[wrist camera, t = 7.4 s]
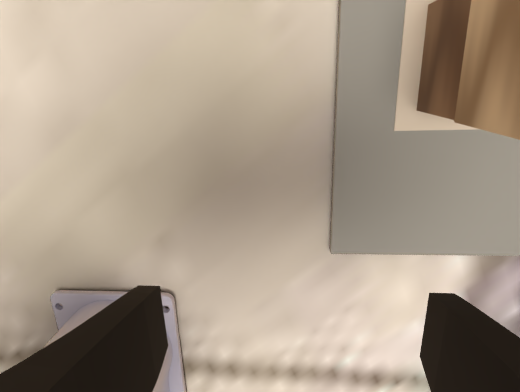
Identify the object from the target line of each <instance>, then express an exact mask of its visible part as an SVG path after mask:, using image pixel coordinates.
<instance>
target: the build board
mask: <svg viewBox="0 0 520 392" xmlns="http://www.w3.org/2000/svg"><path fill="white" fill-rule="evenodd" d="M435 1H436V0H339V20H338V46H337V72H336V99H335V125H334V151H333V178H332V204H331V230H330V252H331V254H394V255H484V256H520V140H518V139H515V138H511V137H507V136H503V135H500V134H496V133H492V132H489V131H485V130H481V129H477V128H474V127H470V126H466V125H462V124H459V123H455V122H454V120H452V119H448V118H444V117H440V116H436V115H432V114H428V113H424V112H420V111H417V102H418V93H419V84H420V75H421V66H422V57H423V48H424V39H425V30H426V21H427V12H428V5H429V4H431V3H433V2H435Z"/></svg>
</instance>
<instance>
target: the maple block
mask: <svg viewBox="0 0 520 392" xmlns="http://www.w3.org/2000/svg"><path fill="white" fill-rule="evenodd" d="M454 122H455V123H459V124H462V125H466V126H470V127H474V128H477V129H481V130H485V131H489V132H492V133H496V134H500V135H503V136H507V137H511V138H515V139H518V140H520V0H471V6H470V13H469V20H468V27H467V35H466V42H465V49H464V56H463V63H462V70H461V77H460V84H459V91H458V98H457V105H456V112H455V119H454Z"/></svg>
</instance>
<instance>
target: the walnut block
mask: <svg viewBox="0 0 520 392" xmlns="http://www.w3.org/2000/svg"><path fill="white" fill-rule="evenodd" d="M470 6H471V0H436V1H435V2H433V3H431V4H429V5H428V12H427V21H426V30H425V39H424V48H423V57H422V66H421V75H420V84H419V93H418V102H417V111H420V112H424V113H428V114H432V115H436V116H440V117H444V118H448V119H452V120H454V119H455V112H456V105H457V98H458V91H459V84H460V77H461V70H462V63H463V56H464V49H465V42H466V35H467V27H468V20H469V13H470Z"/></svg>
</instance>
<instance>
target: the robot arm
mask: <svg viewBox="0 0 520 392" xmlns="http://www.w3.org/2000/svg"><path fill="white" fill-rule="evenodd" d="M50 300H51V303H52V307H53V311H54V315H55V319H56V323H57V326H58V330H59V331H58V332H57V333H56V334H55V335H54V336H53V337H52V339H51V340H50V341H49V342H48V343H47V344H46V345H45V346H44V347H43V348H42V349H41V350H40V351H38V352H37V353H35V354H33V355H32V356H30V357H29V358H27V359H25V360H24V361H22V362H20V363H18V364H17V365H15V366H13V367H11V368H10V369H8V370H6V371H4V372H3V373H1V374H0V392H186V386H185V379H184V371H183V363H182V355H181V347H180V339H179V331H178V324H177V316H176V308H175V300H174V297H173V296H172V295H171V294H170V293H166V292H160V286H137V287H136V288H134V289H132V290H131V291H129V292H123V291H76V290H57V291H55V292H54V293H53V294H52V295H51V297H50ZM60 304H61V305H62V306H61V305H60ZM164 306H168V307H169V309H166V308H165V307H164ZM420 358H421V361H422V365H423V368H424V371H425V374H426V378H427V381H428V384H429V387H430V390H431V392H520V338H519V337H518V336H516V335H515V334H513V333H512V332H511V331H509V330H508V329H506V328H505V327H503V326H502V325H500V324H499V323H498V322H496V321H495V320H493V319H492V318H490V317H489V316H487V315H486V314H485V313H483V312H482V311H480V310H479V309H477V308H476V307H474V306H473V305H471V304H470V303H468V302H467V301H465V300H464V299H462V298H461V297H459V296H457V295H456V294H452V293H429V299H428V306H427V312H426V319H425V326H424V332H423V339H422V346H421V352H420Z"/></svg>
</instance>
